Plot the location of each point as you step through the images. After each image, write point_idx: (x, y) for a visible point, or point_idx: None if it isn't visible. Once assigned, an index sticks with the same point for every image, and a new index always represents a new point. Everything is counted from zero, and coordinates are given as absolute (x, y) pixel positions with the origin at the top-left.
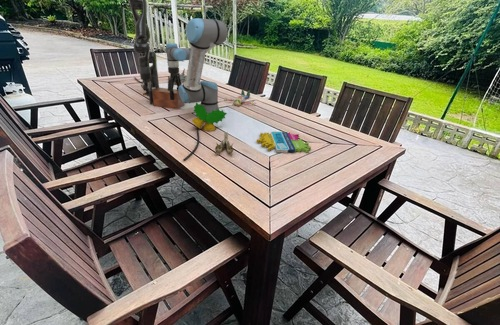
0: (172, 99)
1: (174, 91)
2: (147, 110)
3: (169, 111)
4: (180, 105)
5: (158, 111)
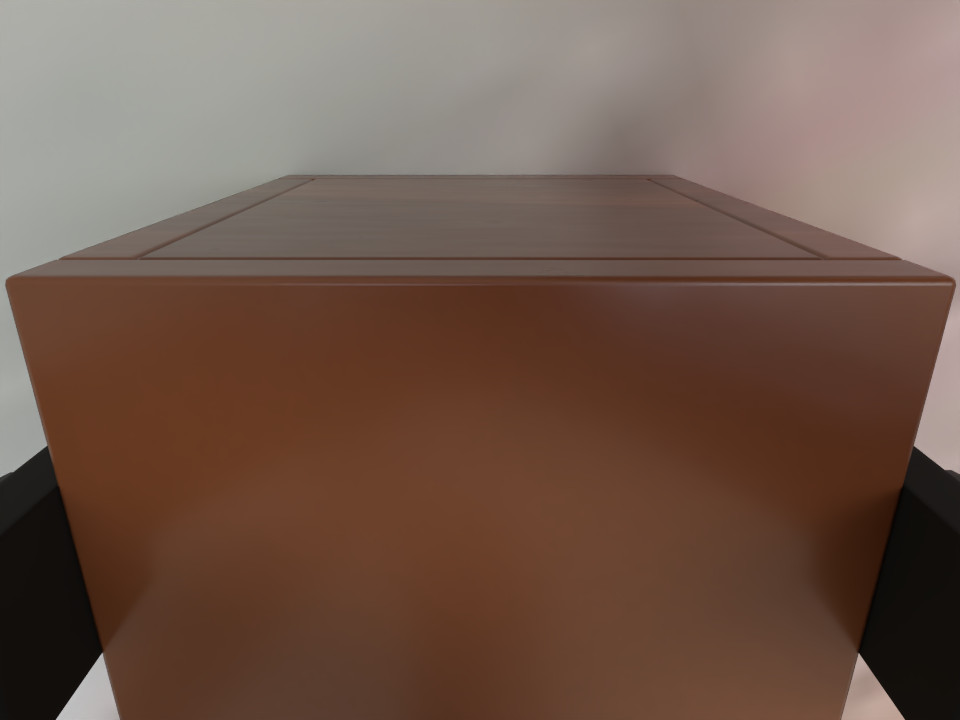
0: None
1: (537, 591)
2: None
3: None
4: (531, 181)
5: None
